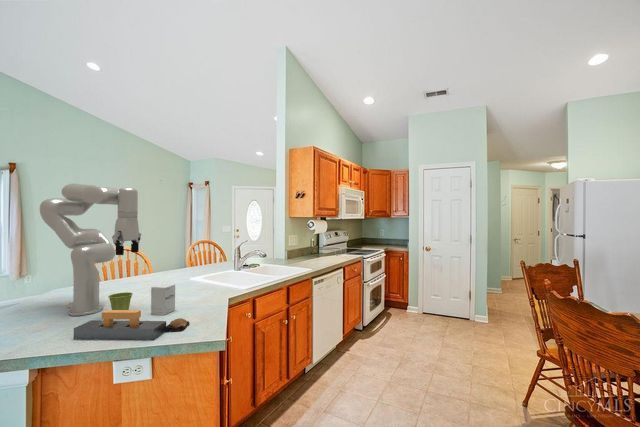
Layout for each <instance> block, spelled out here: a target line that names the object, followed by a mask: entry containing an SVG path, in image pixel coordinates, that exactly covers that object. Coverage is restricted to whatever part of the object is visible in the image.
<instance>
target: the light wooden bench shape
mask: <svg viewBox="0 0 640 427" xmlns="http://www.w3.org/2000/svg"><path fill="white" fill-rule="evenodd" d="M141 312H142V310H140V309H139V310H138V309H135V310H134V309H129V310H112V309H107V310H104V311H101V320H102V321H103V327H110V326H112V325H113V321H114V320H129V321H130V327H137V326H139V321H140V318H141V316H142V313H141Z"/></svg>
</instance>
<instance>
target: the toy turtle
mask: <svg viewBox="0 0 640 427" xmlns="http://www.w3.org/2000/svg"><path fill="white" fill-rule="evenodd" d="M189 325H190V321H189V320H187V319H185V318H175V319H173V320H171V321H170V322H169V324H166V331H165V333H166V334H167V333H168V334H169V333H181V332H184V331H186V329H187V328H188V326H189Z"/></svg>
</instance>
